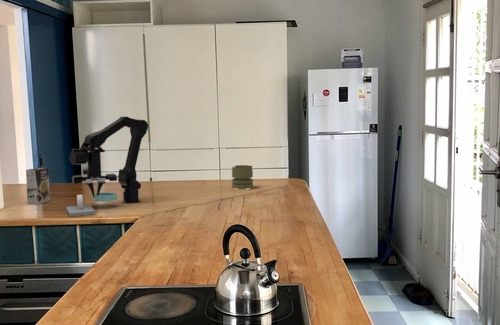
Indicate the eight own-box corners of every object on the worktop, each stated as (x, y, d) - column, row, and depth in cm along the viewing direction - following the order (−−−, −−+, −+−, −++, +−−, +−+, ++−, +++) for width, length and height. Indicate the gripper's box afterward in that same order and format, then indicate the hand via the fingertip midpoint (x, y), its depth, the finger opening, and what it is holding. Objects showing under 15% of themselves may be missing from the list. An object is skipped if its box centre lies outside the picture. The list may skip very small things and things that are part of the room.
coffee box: (39, 204, 242) (37, 169, 241) (27, 203, 244) (25, 169, 242) (50, 200, 251) (48, 167, 249) (38, 200, 252) (36, 167, 251)
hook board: (90, 208, 233) (89, 191, 232) (95, 214, 219) (94, 196, 218) (66, 210, 229) (65, 193, 228) (70, 216, 215) (69, 198, 214)
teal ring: (114, 197, 242) (114, 191, 242) (118, 200, 233) (118, 195, 233) (92, 198, 238) (92, 193, 238) (95, 202, 229) (95, 196, 229)
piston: (254, 165, 288) (250, 167, 277) (254, 186, 289) (250, 190, 278) (234, 165, 290) (229, 167, 279) (235, 186, 291) (229, 189, 280)
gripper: (112, 160, 243) (113, 193, 245) (70, 162, 235) (71, 196, 237) (116, 162, 233) (117, 196, 235) (72, 164, 225) (74, 200, 227)
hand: (95, 197), depth 234 cm, fingers closed on teal ring, 1 cm apart
